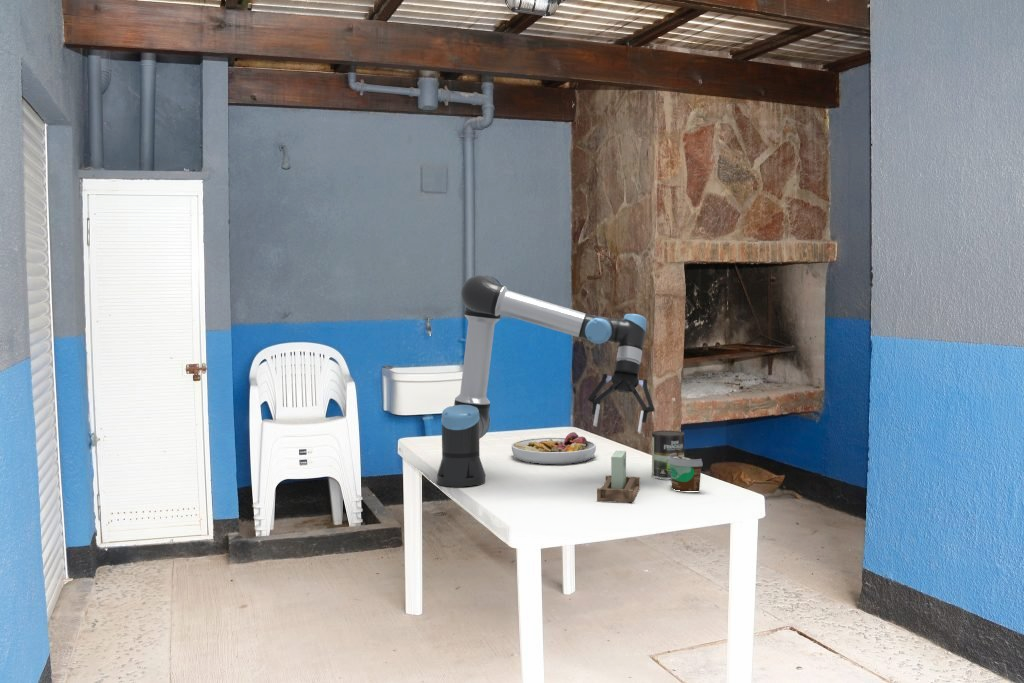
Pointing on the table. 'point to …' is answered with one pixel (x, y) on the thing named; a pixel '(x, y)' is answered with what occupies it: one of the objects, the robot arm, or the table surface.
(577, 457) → the bowl
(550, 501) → the table surface
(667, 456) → the coffee can
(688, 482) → the food container
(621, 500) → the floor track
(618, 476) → the door panel
